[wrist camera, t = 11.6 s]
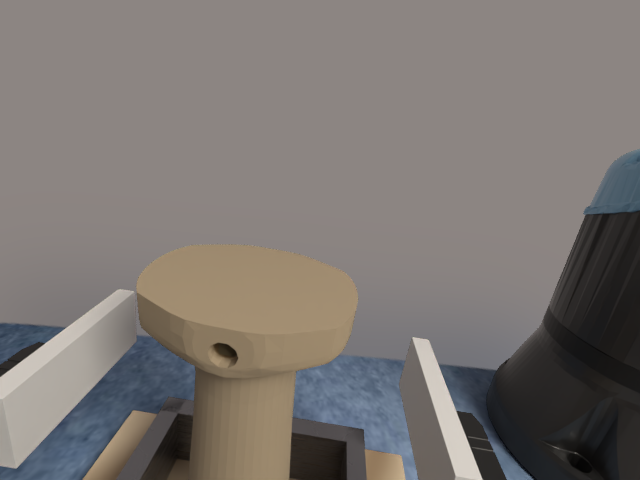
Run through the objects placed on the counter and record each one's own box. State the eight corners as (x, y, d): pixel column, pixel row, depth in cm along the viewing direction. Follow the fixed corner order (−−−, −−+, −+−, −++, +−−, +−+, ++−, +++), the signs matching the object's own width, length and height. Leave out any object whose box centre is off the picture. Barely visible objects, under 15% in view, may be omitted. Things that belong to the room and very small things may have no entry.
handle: (191, 491, 19) (188, 234, 13) (309, 516, 18) (358, 264, 13) (138, 613, 14) (96, 304, 8) (291, 649, 14) (356, 352, 8)
